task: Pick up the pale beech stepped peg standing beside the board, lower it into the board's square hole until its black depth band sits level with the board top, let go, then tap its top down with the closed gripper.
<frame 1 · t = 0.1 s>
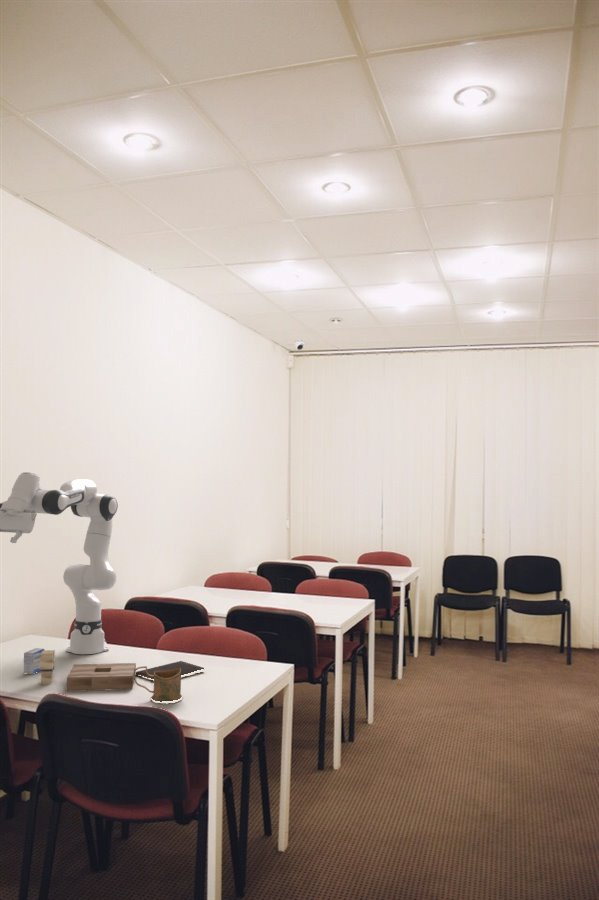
hand: (2, 541, 265), 54 cm above the table, tool tilted 30°, fingers open, 8 cm apart
medicine box: (33, 672, 281), on the table
peg: (46, 682, 267), on the table
hardcover book: (170, 675, 283), on the table
board: (102, 682, 268), on the table
mug: (158, 700, 251), on the table
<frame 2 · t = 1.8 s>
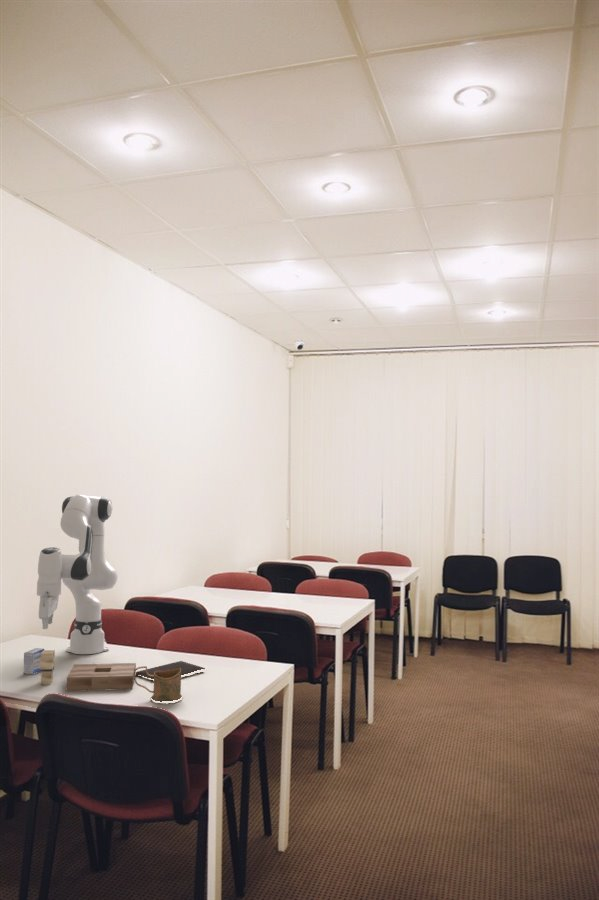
hand: (47, 626, 267), 22 cm above the table, tool pointing down, fingers open, 8 cm apart
nothing on the table moved.
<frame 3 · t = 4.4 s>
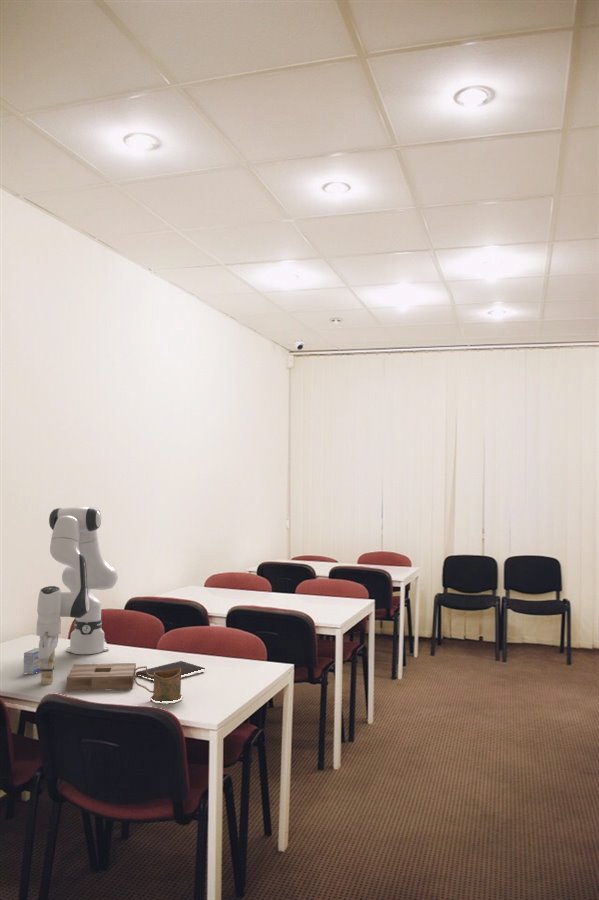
hand: (47, 665, 267), 7 cm above the table, tool pointing down, fingers closed on peg, 4 cm apart
peg: (46, 682, 267), on the table, touching gripper
everything else where it was.
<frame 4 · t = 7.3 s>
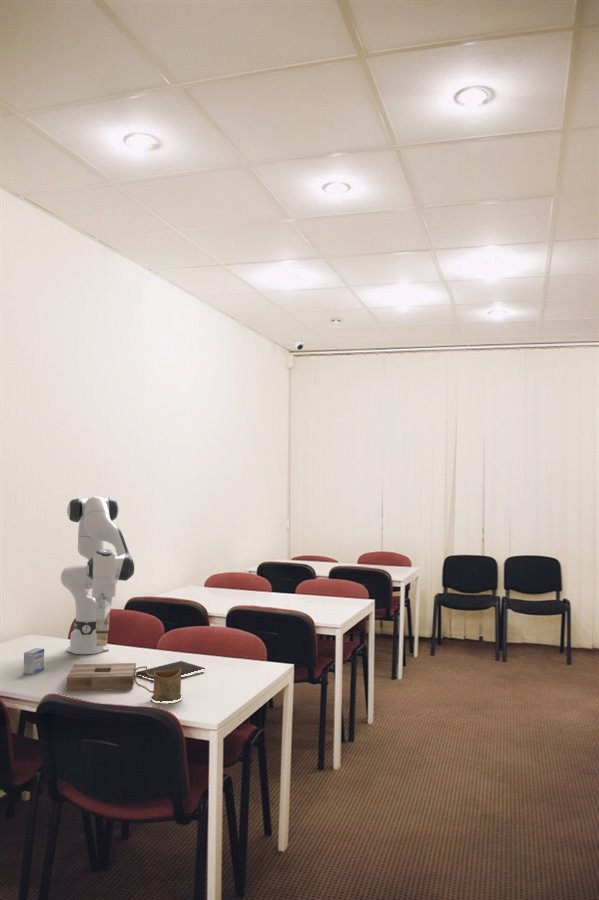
hand: (102, 627, 269), 21 cm above the table, tool pointing down, fingers closed on peg, 4 cm apart
peg: (101, 644, 269), point 15 cm above the table, touching gripper
everything else where it was.
when the fingers open (8 cm above the table, at t = 10.3 s): peg drops 1 cm, resting in board.
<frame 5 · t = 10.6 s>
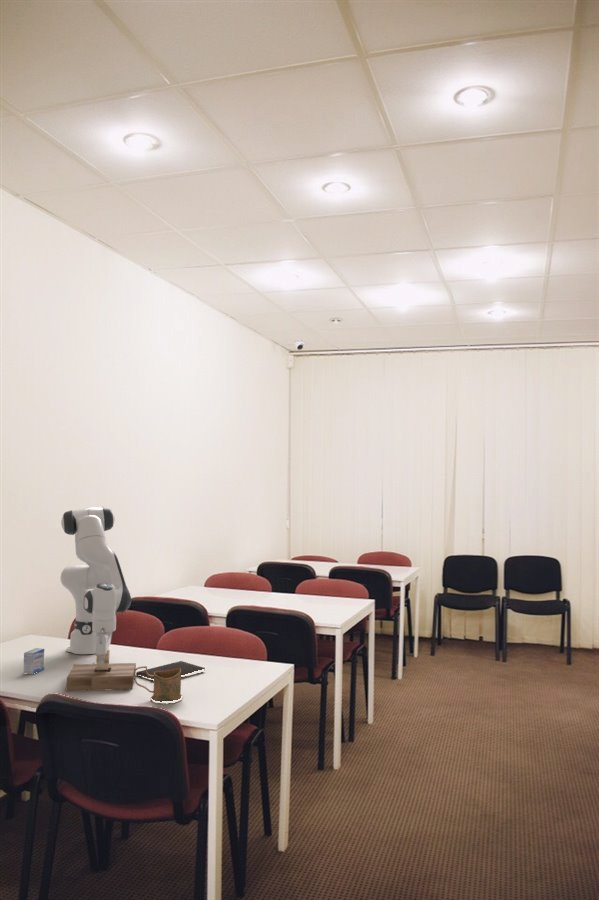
hand: (102, 661, 269), 8 cm above the table, tool pointing down, fingers open, 7 cm apart
peg: (102, 682, 269), resting in board
everything else where it was.
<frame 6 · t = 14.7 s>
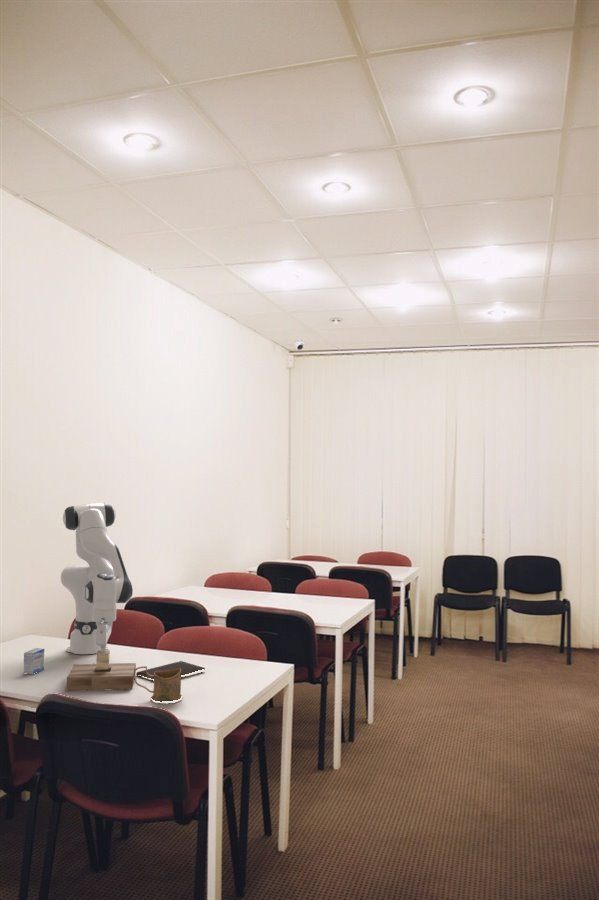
hand: (103, 651, 269), 12 cm above the table, tool pointing down, fingers closed, pressing on peg
peg: (102, 682, 269), resting in board, touching gripper
everything else where it was.
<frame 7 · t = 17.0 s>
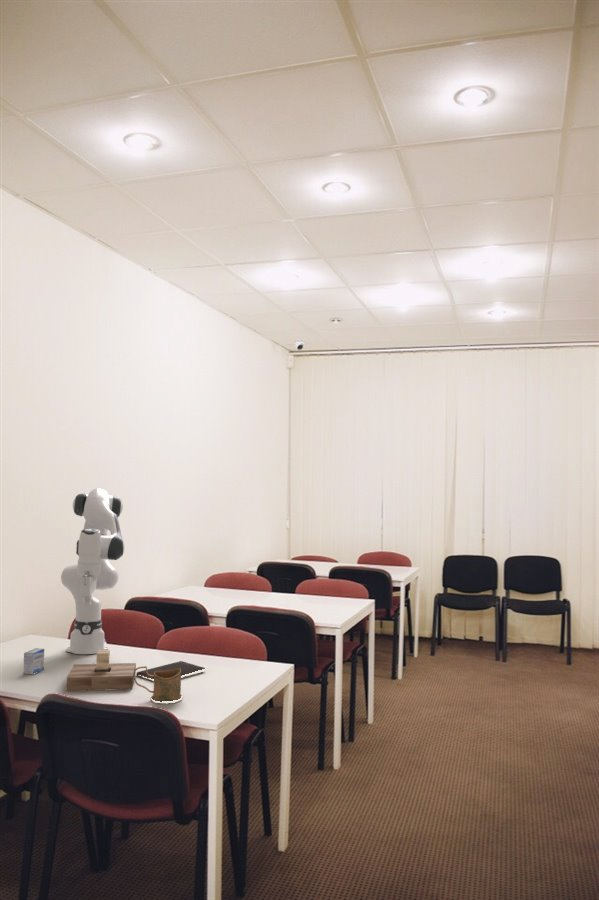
hand: (87, 605, 273), 29 cm above the table, tool pointing down, fingers closed
peg: (102, 682, 269), resting in board
everything else where it was.
at the end: peg 0.1 cm off-centre on the board, point 0.0 cm above the board's base; peg tilted 0°; the gripper is holding nothing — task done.
